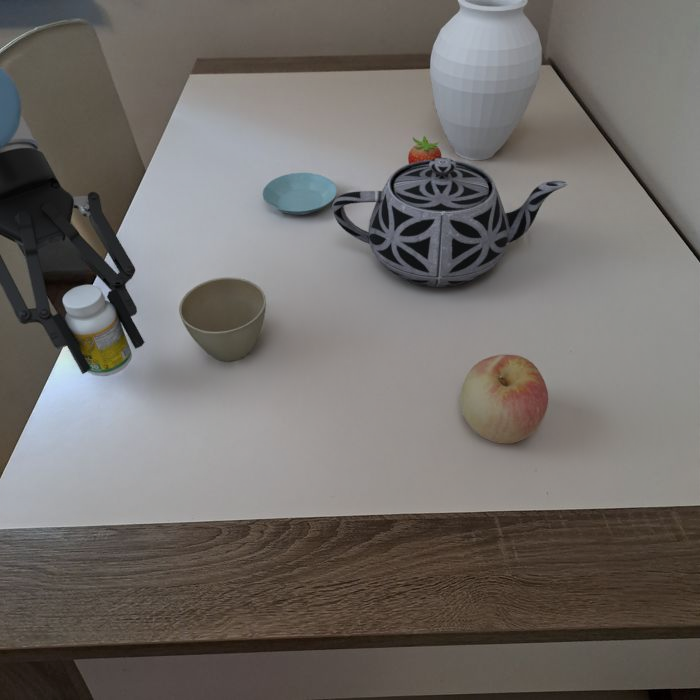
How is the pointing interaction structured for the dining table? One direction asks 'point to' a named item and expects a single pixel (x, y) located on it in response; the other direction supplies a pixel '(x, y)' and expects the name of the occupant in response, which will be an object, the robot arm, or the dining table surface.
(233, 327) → the bowl
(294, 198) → the saucer
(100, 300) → the supplement bottle
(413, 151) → the fruit
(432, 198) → the teapot
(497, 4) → the vase
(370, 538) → the dining table surface
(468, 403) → the apple
